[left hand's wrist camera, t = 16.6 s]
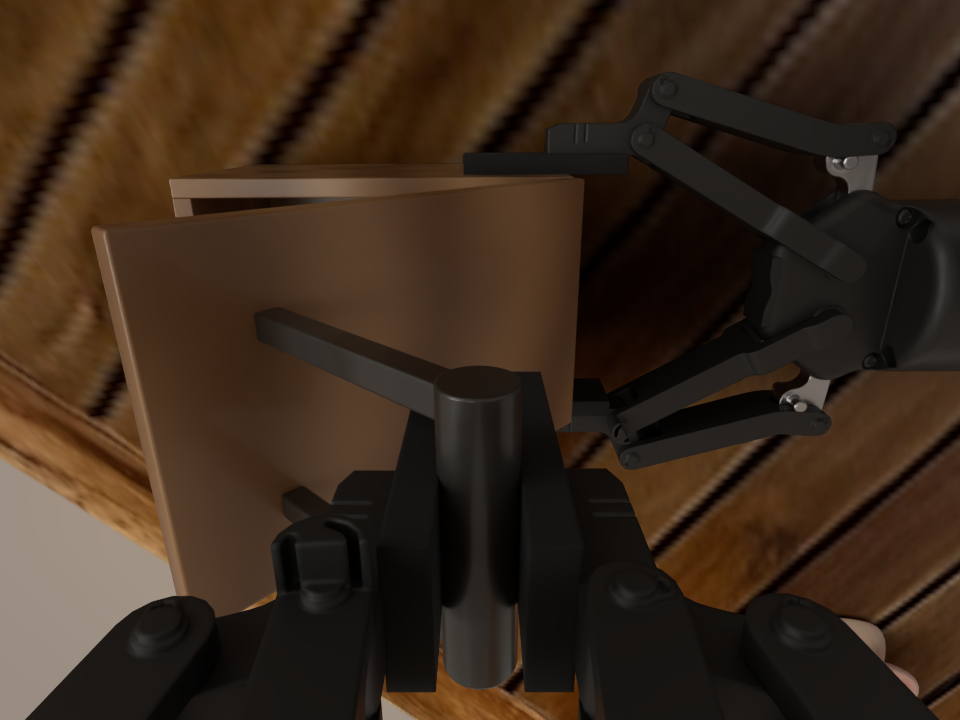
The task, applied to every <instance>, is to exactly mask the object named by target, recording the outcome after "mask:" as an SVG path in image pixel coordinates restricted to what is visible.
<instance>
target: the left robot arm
mask: <svg viewBox="0 0 960 720" xmlns="http://www.w3.org/2000/svg"><path fill="white" fill-rule="evenodd" d="M512 372H514V373H515V374H517V375H518V376H519V377H520V378H521V380H522V382H523V413H522V458H521V495H520V534H519V573H518V611H519V624H520V637H521V649H522V662H523V675H524V688H525V692H574V680H575V672H576V678H577V684H578V689H579V707H578V719H577V720H939V719H938V718H937V717H936V716H935V715H934V714H933V713H932V712H931V711H930V710H929V709H928V708H927V707H926V706H925V704H924V703H923V702H922V701H921V700H920V699H919V698H918V697H917V696H916V695H915V694H914V693H913V692H912V691H911V690H910V689H909V688H908V687H907V686H906V685H905V684H904V683H903V682H902V681H901V680H900V679H899V678H898V676H897V675H896V674H895V673H894V672H893V671H892V670H891V669H890V668H889V667H888V666H887V665H886V664H885V663H884V662H883V661H882V660H881V659H880V658H879V657H878V656H877V655H876V654H875V653H874V652H873V651H872V650H871V648H870V647H869V646H868V645H867V644H866V643H865V642H864V641H863V640H862V639H861V638H860V637H859V636H858V635H857V634H856V633H855V632H854V631H853V630H852V629H851V628H850V627H849V626H848V625H847V624H846V623H845V622H844V621H843V620H842V619H840V618H839V617H838V616H837V615H835V614H834V613H833V612H832V611H831V610H829V609H828V608H826V607H824V606H822V605H820V604H818V603H816V602H814V601H812V600H810V599H806V598H803V597H799V596H795V595H791V594H781V593H769V594H766V595H763V596H760V597H757V598H755V599H754V600H753V601H752V602H751V603H750V604H749V606H748V607H747V609H746V614H745V615H741V614H737V613H733V612H729V611H724V610H720V609H716V608H712V607H709V606H706V605H702V604H699V603H696V602H694V601H692V600H690V599H688V598H686V597H684V595H683V593H682V591H681V590H680V588H679V586H678V585H677V583H676V581H675V580H674V579H672V578H671V577H670V576H669V575H667V574H666V573H665V572H664V571H662V570H661V569H658V568H657V567H656V565H655V562H654V560H653V557H652V555H651V552H650V550H649V547H648V545H647V542H646V540H645V537H644V535H643V532H642V530H641V527H640V525H639V523H638V520H637V518H636V517H635V513H634V510H633V508H632V505H631V503H629V498H628V495H627V493H626V490H625V488H624V485H623V483H622V482H621V481H620V480H619V479H618V478H616V477H615V476H614V475H613V474H612V473H611V472H610V471H608V470H607V469H565V468H564V464H563V460H562V456H561V451H560V447H559V443H558V439H557V435H556V431H555V427H554V423H553V419H552V415H551V411H550V407H549V403H548V399H547V395H546V391H545V387H544V383H543V379H542V375H541V372H515V371H512ZM270 548H271V555H272V562H273V568H274V575H275V582H276V588H277V596H276V599H275V600H273V601H271V602H269V603H267V604H265V605H263V606H259V607H256V608H253V609H250V610H246V611H242V612H238V613H234V614H230V615H225V616H221V617H217V618H216V617H215V612H214V609H213V608H212V607H211V606H210V605H209V604H208V602H207V601H206V600H203V599H200V598H197V597H194V596H172V597H168V598H164V599H160V600H157V601H153V602H151V603H149V604H147V605H145V606H143V607H141V608H139V609H137V610H135V611H133V612H131V613H130V614H129V615H128V616H126V617H125V618H124V619H123V620H121V621H120V622H119V623H118V624H117V625H115V626H114V627H113V629H112V630H111V631H110V632H109V633H108V634H107V635H106V636H105V637H104V638H103V639H102V640H101V641H100V642H99V643H98V644H97V645H96V646H95V647H94V648H93V649H92V650H91V652H90V653H89V654H88V655H87V656H86V657H85V658H84V659H83V660H82V661H81V662H80V663H79V664H78V665H77V666H76V667H75V668H74V669H73V670H72V671H71V672H70V673H69V674H68V676H67V677H66V678H65V679H64V680H63V681H62V682H61V683H60V684H59V685H58V686H57V687H56V688H55V689H54V690H53V691H52V692H51V693H50V694H49V695H48V696H47V698H45V699H44V701H43V702H42V703H41V704H40V705H39V706H38V707H37V708H36V709H35V710H34V711H33V712H32V713H31V714H30V715H29V716H28V717H27V718H26V719H25V720H383V719H382V707H381V695H382V689H383V684H384V678H385V674H386V688H387V692H436V680H437V668H438V655H439V642H440V630H441V617H442V572H441V538H440V505H439V478H438V476H437V473H436V447H435V421H434V420H432V419H430V418H428V417H426V416H423V415H421V414H419V413H417V412H415V411H412V410H410V413H409V417H408V421H407V425H406V429H405V433H404V437H403V441H402V445H401V449H400V453H399V458H398V462H397V466H396V470H354V471H353V472H352V473H351V474H350V475H349V476H348V477H346V478H345V479H344V480H343V481H342V482H341V483H340V484H339V485H338V486H337V489H336V491H335V494H334V496H333V499H332V501H331V505H330V506H329V509H328V511H327V514H326V515H321V516H314V517H309V518H306V519H303V520H301V521H298V522H296V523H293V524H291V525H290V526H288V527H287V528H286V529H284V530H283V531H281V532H280V533H279V534H278V535H277V536H276V538H275V539H274V541H273V542H272V543H271V545H270Z"/></svg>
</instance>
